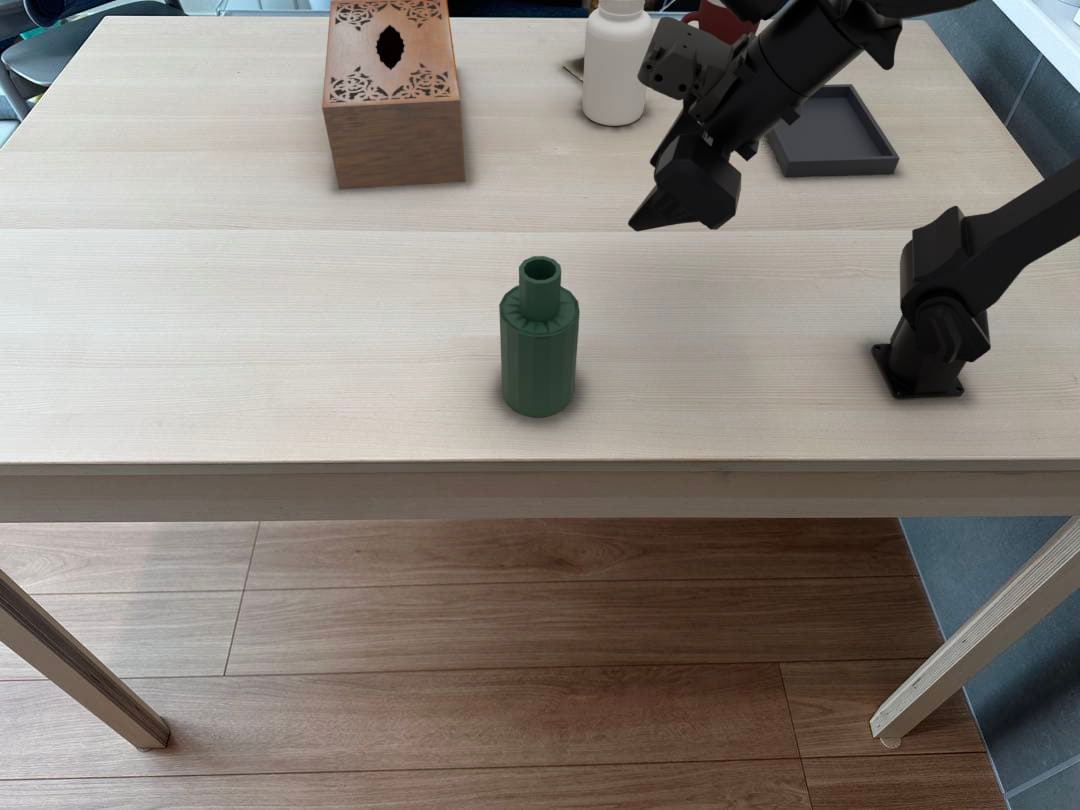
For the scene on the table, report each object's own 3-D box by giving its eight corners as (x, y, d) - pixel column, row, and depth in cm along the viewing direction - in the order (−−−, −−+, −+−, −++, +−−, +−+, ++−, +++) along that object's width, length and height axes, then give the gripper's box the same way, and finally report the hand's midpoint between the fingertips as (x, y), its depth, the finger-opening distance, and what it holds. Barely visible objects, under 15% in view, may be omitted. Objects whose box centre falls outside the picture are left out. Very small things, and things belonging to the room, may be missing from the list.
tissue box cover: (344, 77, 107) (330, 0, 99) (451, 71, 108) (446, -5, 101) (339, 189, 91) (322, 107, 83) (465, 181, 92) (460, 100, 84)
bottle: (576, 415, 70) (586, 295, 59) (503, 419, 69) (499, 299, 58) (569, 362, 74) (577, 241, 63) (500, 365, 73) (496, 244, 63)
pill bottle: (605, 89, 106) (615, -31, 94) (655, 109, 103) (671, -12, 91) (568, 112, 102) (574, -10, 90) (619, 135, 99) (631, 11, 87)
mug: (674, 84, 107) (686, 8, 99) (669, 55, 112) (680, -19, 105) (753, 86, 107) (770, 10, 99) (744, 57, 112) (760, -18, 105)
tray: (893, 173, 94) (900, 158, 93) (784, 177, 93) (789, 161, 92) (847, 98, 105) (852, 83, 104) (749, 101, 104) (752, 86, 103)
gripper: (723, -67, 60) (596, 79, 71) (681, 45, 48) (538, 198, 59) (823, 35, 63) (687, 158, 74) (807, 162, 51) (648, 286, 63)
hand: (643, 194), depth 68 cm, fingers open, 9 cm apart
